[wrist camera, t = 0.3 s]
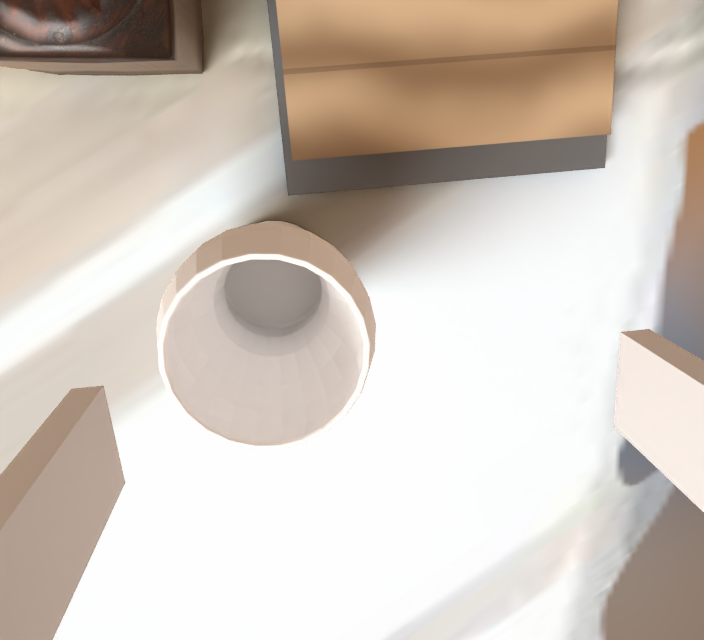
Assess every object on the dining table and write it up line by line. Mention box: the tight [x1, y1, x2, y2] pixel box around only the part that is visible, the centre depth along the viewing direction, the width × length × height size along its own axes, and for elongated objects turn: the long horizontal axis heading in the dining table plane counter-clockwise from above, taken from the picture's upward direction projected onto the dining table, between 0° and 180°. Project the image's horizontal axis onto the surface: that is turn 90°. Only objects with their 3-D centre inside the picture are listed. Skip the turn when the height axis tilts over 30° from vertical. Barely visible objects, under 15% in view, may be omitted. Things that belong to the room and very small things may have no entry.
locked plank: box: [276, 0, 618, 161], centre depth 37 cm, size 10×20×2 cm, turn 94°
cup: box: [156, 221, 376, 449], centre depth 34 cm, size 11×11×15 cm
